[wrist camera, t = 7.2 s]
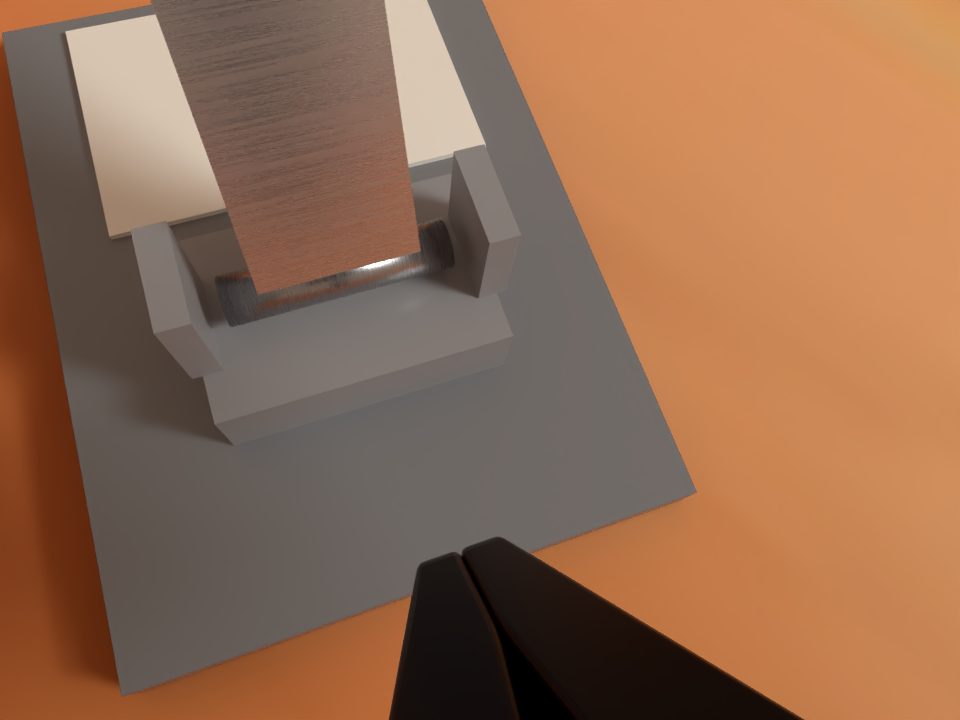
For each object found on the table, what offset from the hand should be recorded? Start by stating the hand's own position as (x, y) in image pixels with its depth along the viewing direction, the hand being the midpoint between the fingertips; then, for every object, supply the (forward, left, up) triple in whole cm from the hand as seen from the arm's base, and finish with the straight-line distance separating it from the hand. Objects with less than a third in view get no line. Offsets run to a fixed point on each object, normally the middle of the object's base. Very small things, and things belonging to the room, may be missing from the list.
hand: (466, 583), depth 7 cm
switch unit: (+7, +4, -9) cm, 12 cm away
